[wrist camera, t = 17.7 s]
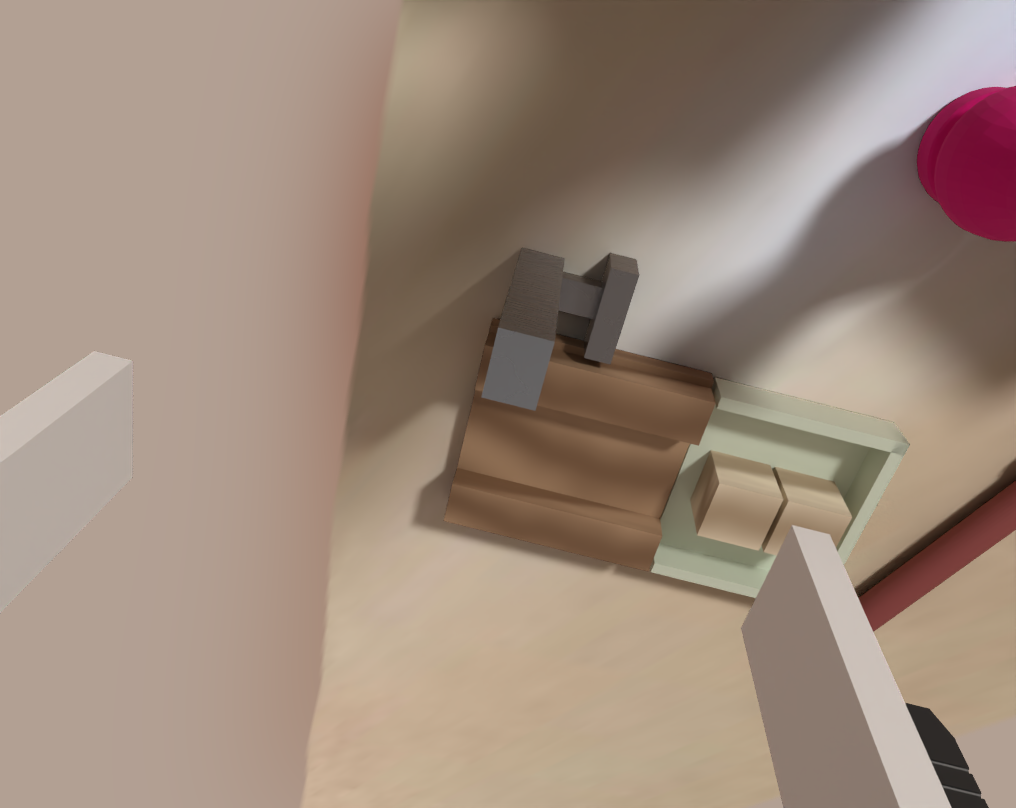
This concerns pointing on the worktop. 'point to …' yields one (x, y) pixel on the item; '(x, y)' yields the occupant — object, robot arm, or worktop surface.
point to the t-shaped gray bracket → (554, 321)
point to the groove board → (581, 453)
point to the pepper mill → (974, 162)
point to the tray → (779, 443)
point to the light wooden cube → (806, 508)
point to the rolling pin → (941, 558)
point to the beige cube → (735, 500)
